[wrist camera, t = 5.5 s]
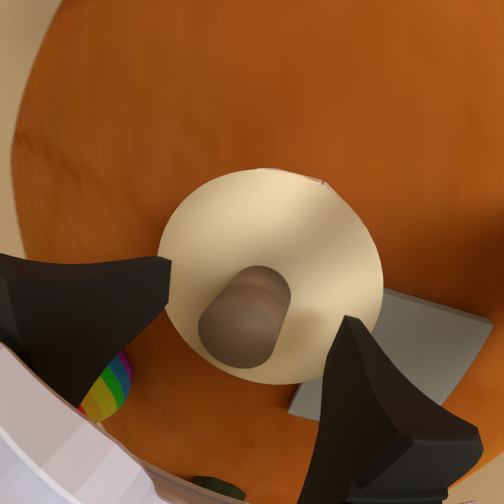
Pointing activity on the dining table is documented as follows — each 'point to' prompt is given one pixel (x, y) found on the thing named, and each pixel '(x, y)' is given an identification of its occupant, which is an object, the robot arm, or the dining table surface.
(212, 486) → the wine bottle
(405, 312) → the mat
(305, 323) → the lid
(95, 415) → the decorative egg
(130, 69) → the dining table surface
